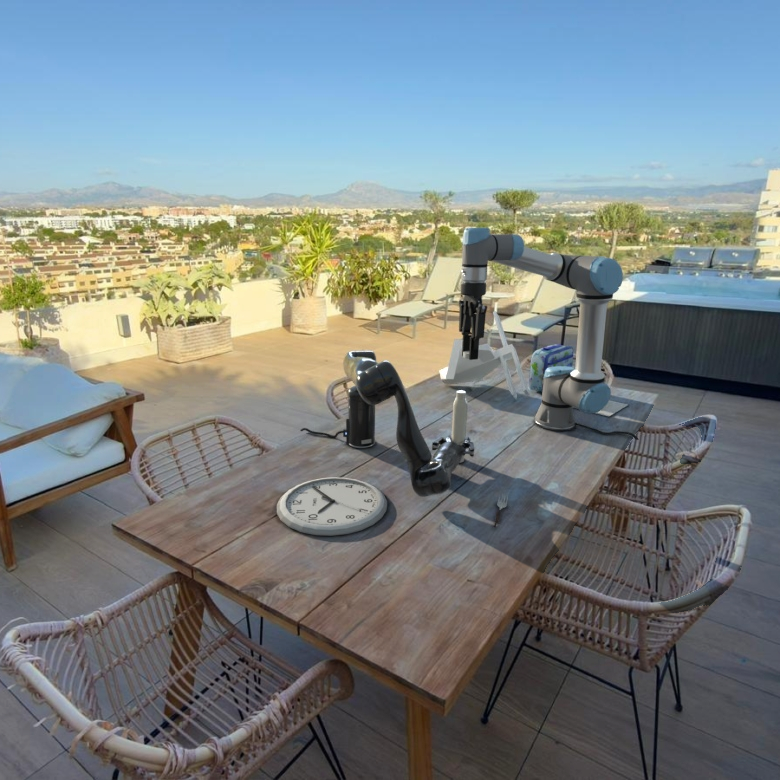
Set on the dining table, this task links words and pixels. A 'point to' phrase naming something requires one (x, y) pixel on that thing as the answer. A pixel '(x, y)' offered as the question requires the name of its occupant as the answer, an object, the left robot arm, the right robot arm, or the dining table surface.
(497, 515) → the fork
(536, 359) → the lunch box
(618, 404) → the invitation card
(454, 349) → the white plastic object
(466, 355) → the cap
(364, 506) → the wall clock
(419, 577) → the dining table surface
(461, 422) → the bottle
